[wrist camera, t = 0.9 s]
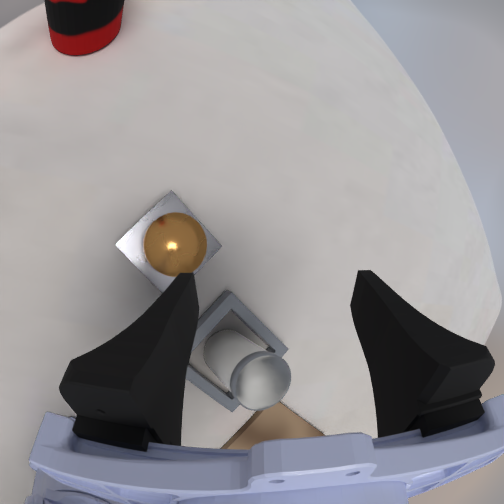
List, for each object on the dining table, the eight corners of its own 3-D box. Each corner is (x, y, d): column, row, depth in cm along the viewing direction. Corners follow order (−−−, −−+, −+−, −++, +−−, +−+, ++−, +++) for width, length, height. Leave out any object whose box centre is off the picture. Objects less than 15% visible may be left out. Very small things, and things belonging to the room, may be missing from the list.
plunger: (168, 285, 24) (176, 290, 21) (129, 244, 22) (130, 243, 19) (206, 246, 25) (219, 245, 22) (169, 205, 24) (177, 199, 21)
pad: (266, 493, 30) (269, 496, 30) (203, 464, 27) (206, 468, 26) (323, 433, 34) (327, 436, 33) (271, 395, 30) (274, 398, 30)
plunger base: (164, 295, 26) (170, 300, 23) (115, 245, 24) (115, 244, 21) (211, 246, 28) (222, 245, 25) (165, 196, 26) (171, 190, 23)
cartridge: (226, 382, 28) (262, 420, 21) (192, 355, 27) (220, 390, 20) (257, 348, 30) (301, 375, 22) (225, 318, 28) (264, 341, 21)
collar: (226, 405, 28) (232, 412, 27) (163, 357, 26) (166, 362, 24) (281, 345, 31) (288, 348, 29) (225, 290, 28) (231, 292, 27)
